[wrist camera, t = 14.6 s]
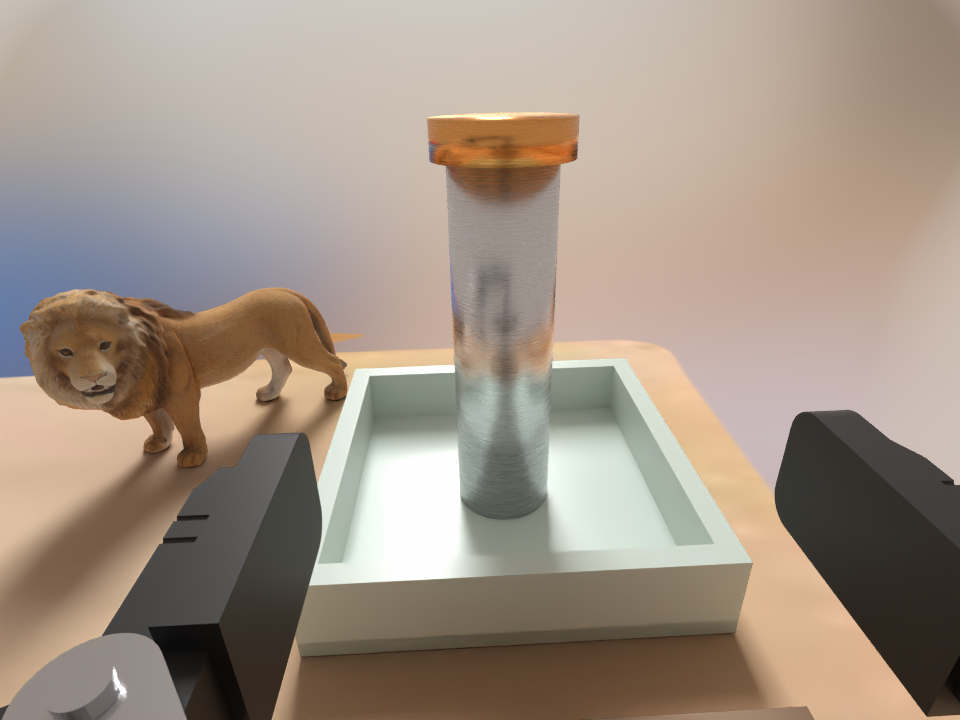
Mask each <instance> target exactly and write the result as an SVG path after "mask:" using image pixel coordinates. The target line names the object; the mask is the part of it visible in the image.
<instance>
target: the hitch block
mask: <svg viewBox="0 0 960 720" xmlns="http://www.w3.org/2000/svg"><path fill="white" fill-rule="evenodd" d="M587 720H814V718H813V716H812V715H811V713H810V711H809V709H808V708H807V706H805V707H788V708H771V709H754V710H738V711H721V712H704V713H687V714H671V715H654V716H637V717H620V718H604V719H587Z"/></svg>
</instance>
